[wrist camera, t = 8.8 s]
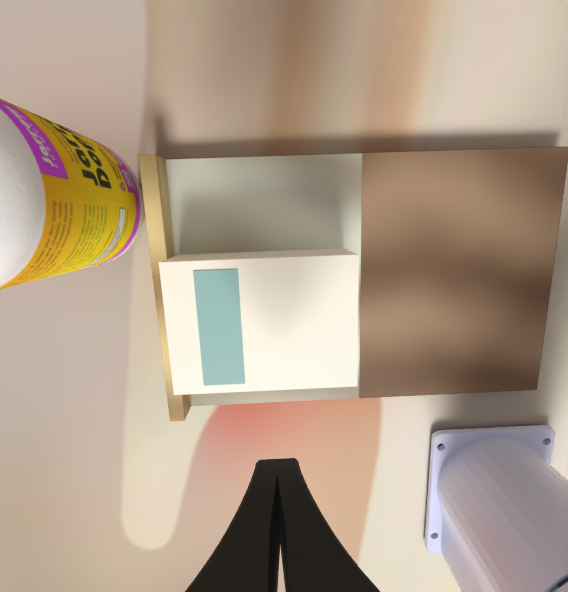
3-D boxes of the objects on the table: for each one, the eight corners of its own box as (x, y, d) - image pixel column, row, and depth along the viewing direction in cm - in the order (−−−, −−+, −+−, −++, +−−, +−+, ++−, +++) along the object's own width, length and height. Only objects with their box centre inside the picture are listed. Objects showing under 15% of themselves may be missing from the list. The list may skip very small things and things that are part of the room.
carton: (343, 358, 20) (357, 386, 17) (190, 365, 20) (173, 395, 17) (343, 248, 19) (359, 254, 16) (179, 254, 19) (158, 262, 15)
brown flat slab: (525, 382, 22) (556, 402, 20) (181, 398, 22) (170, 421, 19) (554, 150, 19) (595, 140, 17) (155, 163, 19) (138, 154, 16)
